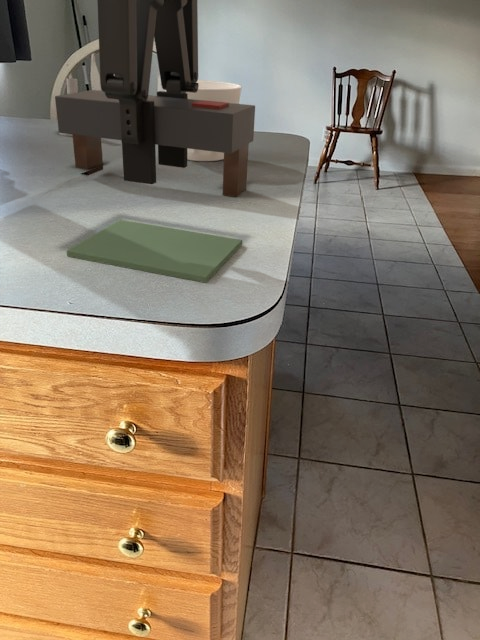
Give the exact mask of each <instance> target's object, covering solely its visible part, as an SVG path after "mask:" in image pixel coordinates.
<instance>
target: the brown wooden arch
mask: <svg viewBox="0 0 480 640" xmlns="http://www.w3.org/2000/svg"><path fill="white" fill-rule="evenodd" d="M72 135H73V136H72V144H73V154H74V166H75V169H76V168H77V169H83V170H86V171H84V172H81V173H80V175H81V176H90V175H93V174H95V173H98V172H100V171H103V170H104V161H103V147H102V138H98V137H90V136H82V135H74V134H72ZM249 144H250V143H249ZM249 144H247V145H245V146H244V147H242V148H240V149H238V150H237V151H235V152H233V153H231V154H230V153H224V159H223V168H222V169H223V171H222V196H227V197H232V198H238V197H239V196H241V194H243V193H244V192H245V191H246V190H247V181H248V179H247V178H248V165H249V163H248V162H249V146H250V145H249Z"/></svg>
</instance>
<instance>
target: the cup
mask: <svg viewBox="0 0 480 640" xmlns="http://www.w3.org/2000/svg"><path fill="white" fill-rule="evenodd" d="M196 83H198V85H199V86H198V91H197V92H196V93H193V92H186V94H187V99H193V100H206V101H217V102H227V103H235V104H240V98H241V93H242V88H243V87H242V85H241V84H237V83H233V82H226V81H217V80H203V79H201V80H200V79H198V81H197V82H196ZM163 91H165V92H166V90H163ZM187 161H192V162H204V163H205V162H207V163H209V162H210V163H211V162H219V161H224V153H222V152H214V151H205V150H197V149H189V148H187Z"/></svg>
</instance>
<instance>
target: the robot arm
mask: <svg viewBox="0 0 480 640" xmlns="http://www.w3.org/2000/svg"><path fill="white" fill-rule="evenodd" d="M96 3H97V26H98V27H97V28H98V29H97V30H98V50H99V51H98V53H99V80H100V82H99V83H100V89H101V91H103V92H105V95H106V97H107V98H110V99H118V100H119V103H120V118H121V137H122V140H121V153H122V171H123V181H125V182H130V183H131V182H133V183H138V184H145V185H146V184H147V185H154V184H156V183H157V163H158V165H159V166H166V167H174V168H180V169H181V168H182V169H185V168H187V167H188V160H187V148H181V147H172V146H164V145H157V153H156V144H155V115H154V101H147V99H148V95H149V92H150V82H151V71H152V62H153V52H154V45H155V52H156V58H157V64H158V71H159V78H160V85H161V89H162V90H158V91H156V96H162V97H172V98H183V99H187V94H186V92H193V93H196V92H197V91H198V86H199V85H198V83H196V82H197V81H198V80H199V29H198V28H199V27H198V26H199V24H198V23H199V22H198V21H199V20H198V17H199V16H198V13H199V12H198V0H97V1H96ZM164 90H166V92H165V91H164ZM156 154H157V155H156ZM156 156H157V157H156ZM157 160H158V161H157Z"/></svg>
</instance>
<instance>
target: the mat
mask: <svg viewBox="0 0 480 640" xmlns="http://www.w3.org/2000/svg"><path fill="white" fill-rule="evenodd" d="M242 246H243V239H239V238H233V237H229V236H228V237H226V236H221V235H215V234H209V233H203V232H197V231H192V230H186V229H185V230H184V229H179V228H173V227H166V226H162V225H155V224H150V223H143V222H137V221H131V220H125V219H119V220H116V221H115V222H113V223H112V224H110V225H108V226H107V227H104V228H103V229H100V230H99V231H98V232H96V233H94V234H92V235H91V236H89V237H87V238H86V239H84V240H82V241H81V242H78V243H77V244H75V245H74V246H72V247H69V248H68V249H67V250H66V257H68V258H74V259H78V260H79V259H80V260H84V261H85V260H86V261H89V262H96V263H100V264H106V265H111V266H117V267H121V268H127V269H132V270H138V271H143V272H146V273H147V272H148V273H153V274H157V275H162V276H168V277H174V278H178V279H179V278H180V279H185V280H190V281H194V282H200V283H208V282H209V281H210V280H211V278H213V276H214V275H216V273H218V271H220V269H221V268H222V267H223V266H224V265H225V264H226V263H227V262H228V261H229V260H230V259H231V258H232V256H233V255H234V254H235V253H236V252H237V251H238V250H239V249H240V248H241V247H242Z"/></svg>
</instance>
